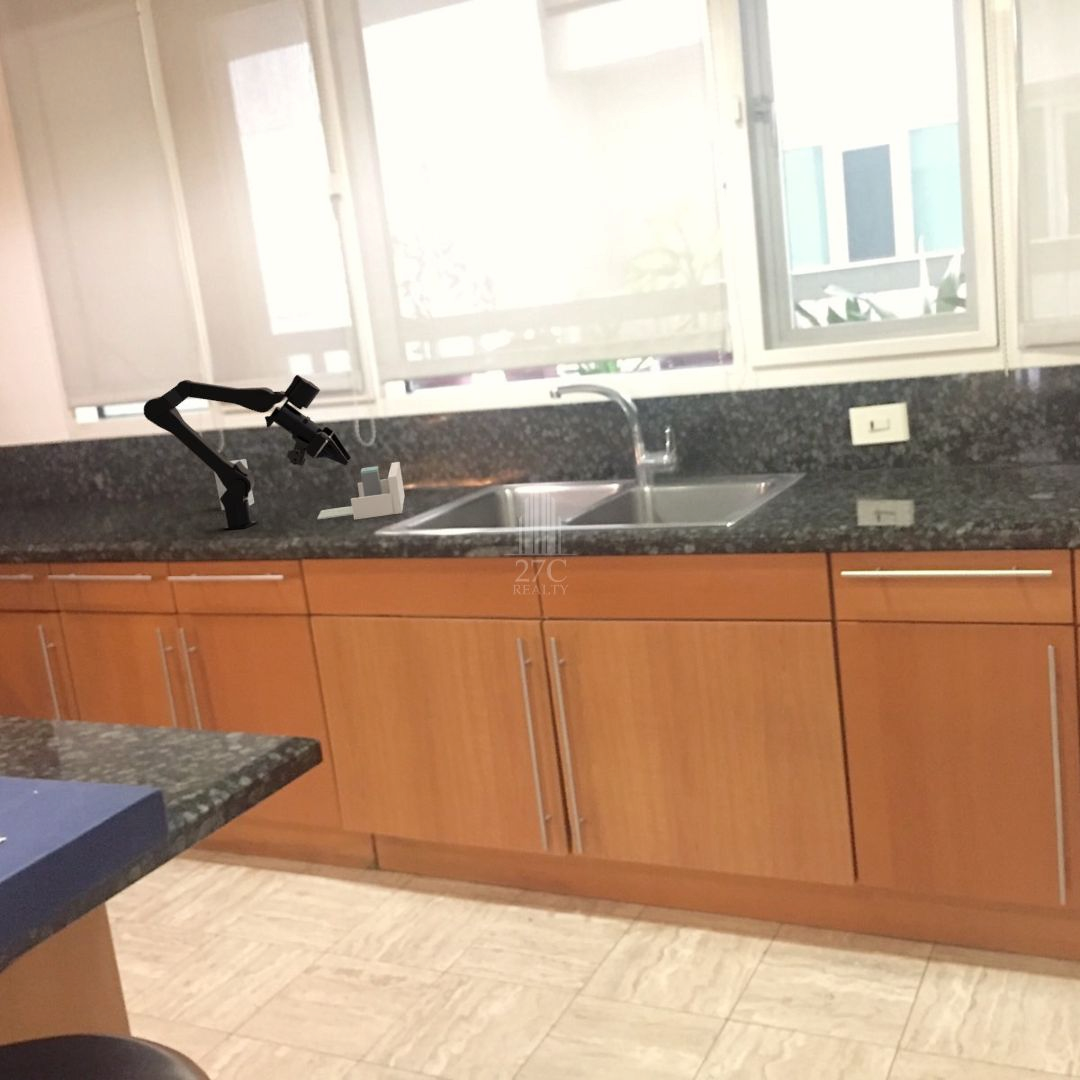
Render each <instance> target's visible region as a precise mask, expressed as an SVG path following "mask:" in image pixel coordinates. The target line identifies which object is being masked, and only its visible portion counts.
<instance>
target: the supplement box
mask: <svg viewBox="0 0 1080 1080" xmlns="http://www.w3.org/2000/svg"><path fill="white" fill-rule="evenodd" d="M229 461H230V462H232V463H234V464H235V463H237V462H238V461H240V462H241V463H242V464H243V465H244V466H245V468H247V469H248V470H249V467H248V462H247V459H246V458H243V459H236V460H229ZM213 474H214V477H215V484H216V489H217V495H218V497H219V498H218V499H219V503H220V509H221V511H225V508H224V506H223V504H222V502H221V500H220V498H221V497H222V495H223V494H224V493H225V491H226V490H227V489H226V488H225V486H224V485H223V484H222V482H221V481H220V479H219V477H218V476H217V474H216V473H215V472H214V471H213ZM253 493H254V492H253V489H252V490H251V491H250V492H249V494H248V498H247V499H248V502H249V507H250V506H252V505H253V504H255V500H254V494H253Z"/></svg>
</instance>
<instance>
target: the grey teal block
mask: <svg viewBox="0 0 1080 1080" xmlns="http://www.w3.org/2000/svg"><path fill="white" fill-rule="evenodd" d="M360 476H361V482H362V484H363V490H364V496H365V497H366V496H373V495H380V494H382V489H381V483H380V480H381V477H380V470H379V465H377V466H375V465H374V466H368V467H363V468H361V470H360Z"/></svg>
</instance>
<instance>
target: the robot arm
mask: <svg viewBox="0 0 1080 1080" xmlns="http://www.w3.org/2000/svg"><path fill="white" fill-rule="evenodd" d="M320 392H321V389H320V388H319V387H318V386H317V385H315V384H314V383H313V382H312V381H310V380H307V379H305V378H304V377H302V376H300V375H299V374H296V375H295V376H294V377H293V379H292V381H291V382H290V384H289V386H288V387H287V388H286V390H285V391H284V390H281V391H273V389H271V388H269V387H262V386H261V387H243V388H242V387H239V388H238V387H232V386H225V385H218V384H212V383H211V384H210V383H205V382H199V381H198V382H197V381H192V380H189V379H184V380H181V381H179V382H178V383H177V385H174V387H173V388H171V389H170V390H168V391H166V392H165V393H164V394H162V395H161V396H157V397H154V398H152V399H149V400H147V401H146V402H145V404H144V406H143V415H144V417H145V418H146V420H147V421H149V422H151V423H152V424H154V425H155V426H157V427H159V428H160V429H162V430H163V431H164V430H165V431H166V432H168V433H170V434H172V435H173V436H175V438H176V439H178V440H179V441H180V442H181V443H182V444H183V445H184V446H185V447H186V448H187V449H189V451H191V452H192V453H193V454H194V455H195V456H196V457H198V458H199V459H200V460H201V461H202V462H203V463H204V464H205V465H206V466H208V468H210V469H211V471H213V473H214V472H215V473H216V474H217V476H218V477H219V479H220V481H221V482H222V484H223V485H224V486H225V488H226V489H227V490H226V491H225V493H224V494H223V495H222V497H221V498H220V499H219V501H220V500H221V502H222V504H223V506H224V508H225V510H224V513H225V518H226V523H227V525H226V526H223V527H222V530H223V531H224V530H233V529H234V530H236V529H239V530H240V529H246V528H248V527H250V526H253V525H255V524H258V520H253V519H252V513H251V508H250V506H249V502H248V499H247V498H248V494H249V492H250V491H251V490H252V491H253V489H254V487H255V478H254V476H253V474H251V473H252V470H250V469H249V468H248V469H247V468H245V466H244V465H243V464H242V463H241V462H240V461H238V462H237V463H235V464H234V463H232V462H230V461H231V460H228V459H227V458H226V457H224V456H223V455H222V454H221V453H220V452H219V451H218V450H217V449H216V448H215V447H213V446H212V445H211V444H210V443H209V442H208V441H207V440H206V439H205V438H204V437H202V435H200V434H199V433H198V432H197V431H196V430H195V429H194V428H193V427H191V426H190V425H189V424H188V423H187V422H186V420H184V418H183V416H182V415H181V413H180V412H179V410H178V409H177V407H178V406H180V404H181V403H183V402H184V401H185V400H186V399H188V398H192V399H193V398H194V399H199V400H205V401H213V402H221V403H228V404H234V405H238V406H240V407H242V408H245V409H247V410H250V411H253V412H256V413H261V414H262V413H263V414H264V413H266V412H267V413H268V412H269V411H271V410H272V409H273V408H274V407H275V408H274V410H273V411H272V412H271V414H270V415H266V416H265V417H264V420H265V422H266V424H265V425H266V428H269V429H270V427H272V426H273V424H276V425H277V426H279V427H280V428H281V429H283V430H284V431H285V432H287V433H288V434H290V435H291V438H292V439H293V440H294V442H295V444H294V445H293V449H289V450H288V451H287V454H286V455H287V456H286V457H287V458H288V459H289V460H290V461H289V463H290V464H292V465H294V466H295V465H296V466H299V467H304V465H305V462H306V456H307V455H308V456H310V457H311V458H312V459H314V458H315V459H321V458H327V459H329V460H331V461H334V462H337V463H339V464H340V465H344V466H347V465H348V463H349V461H350V459H351V455H350V454H349V452H348V451H347V448H345V446H344V445H343V443H342V441H341V440H340V438H339V436H338V434H337V432H336V431H335V430H334V429H333V428H332V427H331V426H329V425H324V426H322V425H321V426H320V425H318V424H317V423H315V422H314V421H313V420H312V419H311V417H309V415H307V416H306V415H305V414H303V413H302V412H301V411H299V410H302V409H303V408H305V409H308V408H309V407H310V405H311V403H312V402H313V401H314V400H315V398H316V397H317V395H318V394H319V393H320ZM285 399H286V400H285ZM284 400H285V402H284V403H283V404H282V405H281V407H279V406H275V405H276V404H280V403H281V402H282V401H284ZM289 403H290V404H289ZM293 406H294V407H293ZM296 408H297V409H296Z"/></svg>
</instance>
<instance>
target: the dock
mask: <svg viewBox="0 0 1080 1080" xmlns="http://www.w3.org/2000/svg"><path fill="white" fill-rule="evenodd" d="M380 483H381V489H382V494H380V495H373V496H366V497H365V496H364V490H363V484H362V481H361V482H358V483H357V489H358V497H352V498H350V503H351V506H352V510H353V520H362V519H368V518H377V517H383V516H389V515H397V514H403V508H404V503H405V490H404V482H403V476H402V470H401V463H400V461H395V462H391V464H390V468H389V472H388V476H387V478H384V479H380Z"/></svg>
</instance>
